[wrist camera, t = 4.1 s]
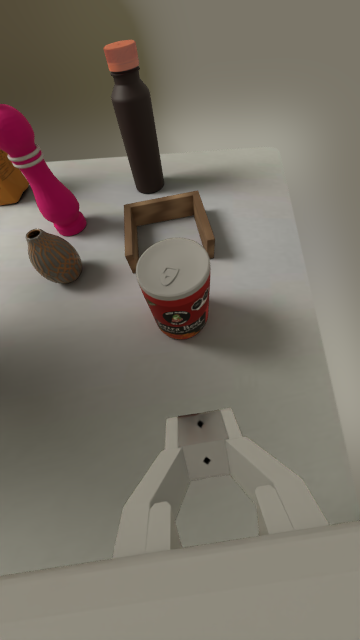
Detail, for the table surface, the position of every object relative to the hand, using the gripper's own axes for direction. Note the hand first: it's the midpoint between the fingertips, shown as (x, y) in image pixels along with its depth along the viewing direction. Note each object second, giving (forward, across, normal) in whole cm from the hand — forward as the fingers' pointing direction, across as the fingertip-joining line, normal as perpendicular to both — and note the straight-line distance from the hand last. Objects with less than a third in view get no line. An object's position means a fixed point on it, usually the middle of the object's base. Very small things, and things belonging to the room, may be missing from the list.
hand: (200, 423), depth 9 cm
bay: (+33, 0, -12) cm, 35 cm away
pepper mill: (+40, +20, -18) cm, 48 cm away
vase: (+30, +19, -8) cm, 37 cm away
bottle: (+47, +2, -26) cm, 54 cm away
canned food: (+21, 0, +1) cm, 21 cm away
